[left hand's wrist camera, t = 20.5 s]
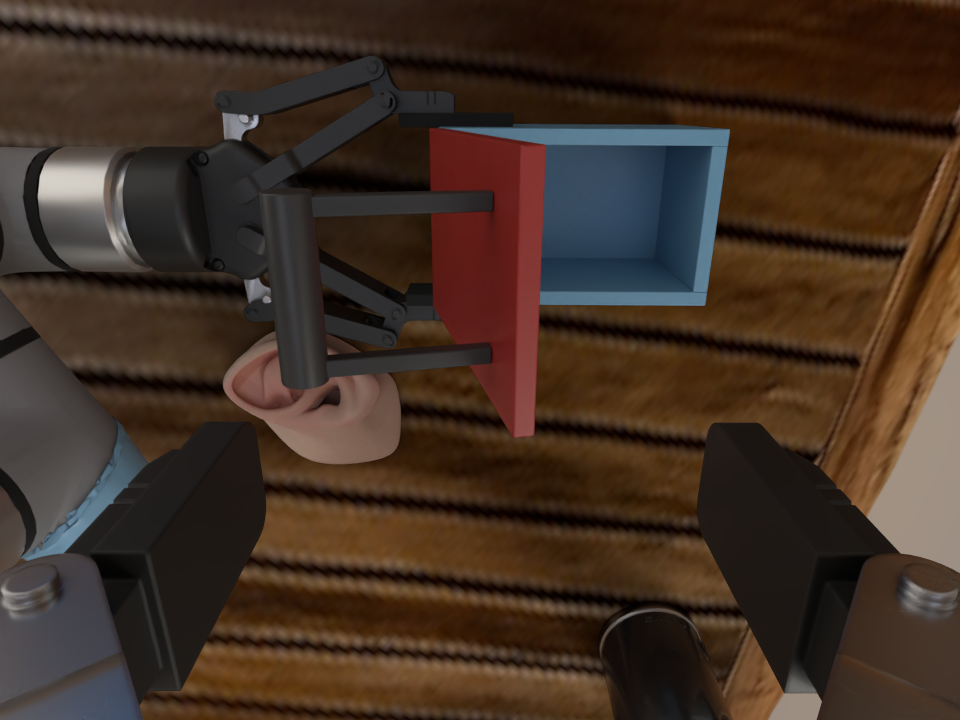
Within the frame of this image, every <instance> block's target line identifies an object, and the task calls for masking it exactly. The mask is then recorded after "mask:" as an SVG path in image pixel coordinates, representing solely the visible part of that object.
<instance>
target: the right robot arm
mask: <svg viewBox="0 0 960 720" xmlns="http://www.w3.org/2000/svg"><path fill="white" fill-rule="evenodd" d="M367 85H370V87H371V90H372V92H373V95H374V97H372V98H371V99H369V100H368V101H366V102H365V103H363V104H361V105H360V106H358V107H357V108H355V109H354V110H352V111H350V112H349V113H347V114H346V115H344V116H343V117H341V118H339V119H338V120H336V121H335V122H333V123H332V124H330V125H328V126H327V127H325V128H324V129H322V130H321V131H319V132H318V133H316V134H314V135H313V136H311V137H310V138H308V139H307V140H305V141H303V142H302V143H300V144H299V145H297V146H296V147H294V148H292V149H291V150H289V151H287V152H285V153H283V154H281V155H280V156H278V157H277V158H275V159H273V158H272V157H270V156H269V155H267V154H266V153H264V152H263V151H262V150H260V149H259V148H257V147H256V146H254V145H253V144H252V143H250V142H249V141H247V134H248V132H249V131H250V130H252V129H256V128H259V127H260V126H261V125H262V124H263V115H269V114H277V113H281V112H284V111H288V110H291V109H294V108H297V107H300V106H303V105H307V104H310V103H313V102H316V101H319V100H322V99H326V98H329V97H332V96H335V95H338V94H342V93H345V92H348V91H351V90H354V89H357V88H361V87H364V86H367ZM214 102H215V106H216V107H217V109H218V110H219V111H221V112H223V124H224V138H225V140H223V141H221V142H219V143H218V144H216V145H214V146H212V147H145V148H143V149H141V150H138V149H136V148H134V147H53V148H23V147H0V276H2V275H5V274H10V273H17V272H39V271H100V272H147V271H151V270H152V269H155V270H157V271H160V272H226V273H230V274H233V275H235V276H237V277H239V278H241V279H244V283H245V287H246V292H247V297H248V302H249V305H247V306H246V307H245V309H244V315H245V317H246V318H247V319H248V320H249V321H251V322H265V321H274V315H273V307H272V299H271V291H270V283H269V282H267V281H266V279H265V278H264V275H263V274H264V273H266V272H267V271H268V266H267V257H266V249H265V241H264V233H263V224H262V216H261V208H260V199H259V192H260V191H262V190H267V189H276V188H302V183H299V182H298V180H297V178H296V177H295V176H297V175H298V174H300V173H302V172H303V171H305V170H306V169H308V168H309V167H311V166H312V165H314V164H315V163H317V162H318V161H320V160H321V159H323V158H325V157H326V156H328V155H329V154H331V153H333V152H334V151H336V150H337V149H339V148H341V147H342V146H344V145H345V144H347V143H349V142H350V141H352V140H353V139H355V138H357V137H358V136H360V135H361V134H363V133H364V132H366V131H368V130H369V129H371V128H372V127H374V126H376V125H377V124H379V123H380V122H382V121H384V120H385V119H387V118H388V117H390V116H392V115H393V114H398V115H399V127H513V113H455V95H453V94H451V93H448V92H446V91H402V90H400V89H399V88H397V86H396V85H395V83H394V81H393V79H392V76H391V73H390V71H389V66H388V64H387V63H386V62H385V61H384V60H383V59H381V58H379V57H376V56H368V57H364V58H361V59H358V60H355V61H352V62H349V63H346V64H343V65H339V66H336V67H333V68H330V69H327V70H324V71H321V72H318V73H314V74H311V75H308V76H305V77H302V78H299V79H296V80H293V81H289V82H286V83H283V84H280V85H277V86H274V87H271V88H268V89H264V90H261V91H258V92H255V93H252V92H240V91H225V90H224V91H219V92H218V93H217V94H216V95H215V98H214ZM318 250H319V261H320V273H321V284H323V285H325V286H327V287H329V288H331V289H333V290H334V291H336V292H338V293H340V294H342V295H344V296H346V297H348V298H350V299H351V300H353V301H355V302H357V303H359V304H361V305H363V306H365V307H367V308H368V309H370V310H372V311H374V312H376V313H378V314H380V315H382V316H383V317H382V316H378V315H374V314H371V313H367V312H363V311H360V310H356V309H352V308H348V307H345V306H341V305H337V304H334V303H330V302H326V301H323V306H324V317H325V328H326V333H330V334H334V335H337V336H341V337H345V338H349V339H352V340H356V341H360V342H364V343H367V344H371V345H375V346H379V347H382V348H387V349H390V348H393V347H394V346H395V345H396V343H397V340H398V338H399V335H400V332H401V329H402V326H403V325H404V324H405V323H406V322H407V321H410V320H441V318H440V316H439V315H438V313H437V312H436V310H435V308H434V306H433V283H410V286H409V288H408V291H407V292H406V293H405V295H404V294H402V293H400V292H398V291H396V290H395V289H393V288H391V287H389V286H387V285H385V284H384V283H382V282H380V281H378V280H376V279H374V278H372V277H371V276H369V275H367V274H365V273H363V272H361V271H359V270H358V269H356V268H354V267H352V266H350V265H348V264H347V263H345V262H343V261H341V260H339V259H337V258H335V257H334V256H332V255H330V254H328V253H326V252H324V251H323V250H321V249H320V247H319V246H318ZM147 464H148V462H147V461H146V459H145V458H144V457H143V455H142V454H141V453H140V451H139V450H138V448H137V447H136V446H135V444H134V443H133V442H132V440H131V439H130V438H129V436H128V435H127V433H126V432H125V431H124V429H123V426H122V425H121V423H120V422H119V421H117V420H116V419H115V418H114V417H112V416H110V415H109V413H108V412H107V411H106V410H105V409H104V408H103V407H102V406H101V405H100V403H99V402H98V401H97V400H96V399H95V398H94V397H93V396H92V394H91V393H90V392H89V391H88V390H87V389H86V388H85V387H84V385H83V384H82V383H81V382H80V381H79V380H78V379H77V378H76V376H75V375H74V374H73V373H72V372H71V371H70V370H69V369H68V368H67V366H66V365H65V364H64V363H63V362H62V361H61V360H60V359H59V357H58V356H57V355H56V354H55V353H54V352H53V351H52V350H51V348H50V347H49V346H48V345H47V344H46V343H45V342H44V341H43V339H42V338H41V337H40V335H39V334H38V333H37V332H36V331H35V330H34V328H33V327H32V326H31V324H30V323H29V322H28V321H27V320H26V319H25V318H24V316H23V315H22V314H21V313H20V312H19V311H18V309H17V308H16V307H15V306H14V305H13V304H12V302H11V301H10V300H9V299H8V298H7V297H6V296H5V294H4V293H3V292H2V291H1V290H0V573H2V572H4V571H5V570H7V569H9V568H11V567H13V566H14V565H15V564H16V563H17V562H18V561H19V560H20V558H24V559H25V560H27V561H29V560H32V559H35V558H39V557H43V556H47V555H53V554H61V553H64V552H65V551H66V550H67V549H68V548H69V547H70V546H71V545H72V544H73V543H74V541H75V540H76V539H77V538H78V537H79V536H80V535H81V534H82V533H83V532H84V531H85V530H86V529H87V528H88V527H89V525H90V524H91V523H92V522H93V521H94V520H95V519H96V518H97V517H98V516H99V515H100V514H101V513H102V512H103V510H104V509H105V508H106V507H107V506H108V505H109V504H113V500H114V499H115V498H116V497H117V495H118V494H119V493H120V492H121V491H122V490H123V489H124V488H128V484H129V483H130V482H131V480H132V479H133V478H134V477H135V476H136V475H137V474H138V473H139V472H140V471H141V470H142V469H143V468H144V467H145V466H146V465H147Z"/></svg>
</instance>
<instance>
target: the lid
mask: <svg viewBox="0 0 960 720" xmlns="http://www.w3.org/2000/svg"><path fill="white" fill-rule="evenodd" d="M429 138H430V181H431V191H407V192H366V193H325V194H313V191H312V190H310V189H305V188H276V189H267V190H262V191H260V192H259V199H260V208H261V216H262V224H263V233H264V241H265V249H266V257H267V266H268V274H269V282H270V291H271V299H272V307H273V315H274V324H275V332H276V340H277V349H278V357H279V365H280V374H281V382H282V384H283V385H284V386H285V387H287V388H290V389H296V390H305V389H312V388H317V387H320V386H322V385H324V384H326V383H327V382H328V381H329V379H330V378H333V377H344V376H355V375H367V374H378V373H389V372H401V371H412V370H424V369H435V368H446V367H458V366H470V367H471V369H472V371H473V372H474V374H475V376H476V377H477V379H478V381H479V382H480V384H481V386H482V387H483V389H484V390H485V392H486V394H487V395H488V397H489V399H490V400H491V402H492V404H493V405H494V407H495V409H496V410H497V412H498V413H499V415H500V417H501V418H502V420H503V422H504V423H505V425H506V427H507V428H508V430H509V432H510V433H511V435H512V437H513V438H518V437H526V436H533V435H534V428H535V404H536V380H537V356H538V332H539V308H540V284H541V259H542V235H543V211H544V187H545V163H546V145H544V144H539V143H533V142H526V141H520V140H514V139H508V138H502V137H495V136H489V135H483V134H477V133H471V132H465V131H458V130H452V129H446V128H430V129H429ZM403 214H431V225H432V268H433V306H434V308H435V310H436V312H437V313H438V315H439V316H440V318H441V320H442V321H443V323H444V325H445V326H446V328H447V330H448V331H449V333H450V335H451V336H452V338H453V339H454V341H455V343H456V344H457V345H445V346H432V347H420V348H407V349H395V350H382V351H370V352H357V353H345V354H332V355H328V351H327V340H326V328H325V317H324V306H323V295H322V284H321V273H320V261H319V250H318V239H317V228H316V217H341V216H372V215H403Z"/></svg>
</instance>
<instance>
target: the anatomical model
mask: <svg viewBox="0 0 960 720" xmlns="http://www.w3.org/2000/svg"><path fill="white" fill-rule="evenodd" d="M326 340H327V351H328V355H332V354H345V353H357V352H360V351H359V350H357V349H356V348H354V347H353V346H351V345H349V344H348V343H346V342H344V341H342V340H340V339H338V338H336V337H334V336H331V335H329V334H326ZM223 387H224V391H225V393H226V394H227V396H228V397H229V398H230V399H231V400H232V401H233V402H235V403H236V404H237V405H238V406H240V407H241V408H243V409H244V410H246V411H247V412H249V413H251V414H253V415H255V416H257V417H259V418H261V419H263V420H264V421H265V422H266V423H267V424H268V425H269V426H270V427H271V429H272V430H273V431H274V432H275V433H276V434H277V435H278V436H279V437H280V438H281V439H282V440H283V441H284V442H285V443H286V444H287V445H288V446H289V447H290V448H291V449H293V450H294V451H295V452H296V453H298V454H299V455H301V456H303V457H305V458H307V459H309V460H312V461H315V462H320V463H327V464H351V463H360V462H367V461H372V460H377V459H381V458H384V457H386V456H388V455H390V454H391V453H393V452H394V451H395V449H396V448H397V446H398V443H399V439H400V431H401V407H400V401H399V394H398V389H397V386H396V383H395V382H394V380H393V378H392V377H391V376H390V375H389V374H388V373H378V374H367V375H355V376H344V377H333V378H330V379H329V381H328V382H327V383H326V384H324V385H322V386H320V387H317V388H312V389H305V390H296V389H290V388H287V387H285V386H284V385H283V384H282V382H281V374H280V365H279V357H278V349H277V340H276V332H275V331H274V332H272V333H270V334H268V335H266V336H264V337H263V338H262V339H260V340H259V341H258V342H257V343H255V344H254V345H253V346H252V347H251V348H250V349H249V350H248V351H247V352H245V353H244V354H243V355H242V356H240V357H239V358H238V359H237V360H236V361H235V362H234V363H233V365H232V366H231V367H230V368H229V370H228V371H227V373H226V374H225V377H224V380H223Z"/></svg>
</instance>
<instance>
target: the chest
mask: <svg viewBox="0 0 960 720" xmlns="http://www.w3.org/2000/svg"><path fill="white" fill-rule="evenodd" d="M439 128H446V129H452V130H458V131H465V132H471V133H477V134H483V135H489V136H495V137H502V138H508V139H514V140H520V141H526V142H533V143H539V144H544V145H546V163H545V187H544V211H543V235H542V259H541V284H540V305H697V306H704V305H705V302H706V295H707V288H708V281H709V274H710V267H711V260H712V253H713V246H714V239H715V232H716V225H717V217H718V210H719V203H720V196H721V189H722V182H723V175H724V168H725V161H726V154H727V146H728V140H729V133H730V130H729V129H720V128H708V127H697V126H685V125H619V124H513V127H439Z"/></svg>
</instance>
